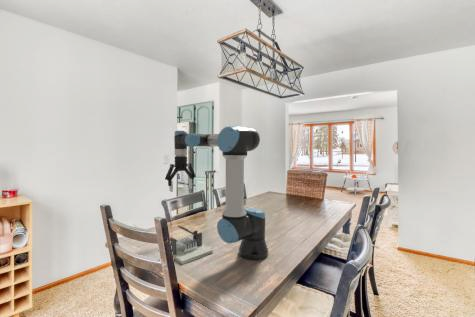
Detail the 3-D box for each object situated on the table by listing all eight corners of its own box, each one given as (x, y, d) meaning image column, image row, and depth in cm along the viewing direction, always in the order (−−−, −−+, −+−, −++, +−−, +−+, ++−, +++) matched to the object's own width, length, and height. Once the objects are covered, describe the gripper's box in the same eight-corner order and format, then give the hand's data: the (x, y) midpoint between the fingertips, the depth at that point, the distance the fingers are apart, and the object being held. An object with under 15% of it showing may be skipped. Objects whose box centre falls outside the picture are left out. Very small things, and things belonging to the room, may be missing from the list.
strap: (199, 238, 130) (201, 235, 130) (180, 229, 121) (181, 225, 122) (196, 237, 132) (197, 234, 132) (177, 227, 123) (178, 224, 124)
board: (212, 252, 124) (212, 249, 124) (182, 264, 112) (182, 261, 112) (189, 240, 140) (189, 237, 140) (160, 249, 128) (160, 246, 128)
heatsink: (197, 248, 125) (197, 241, 125) (184, 253, 120) (184, 245, 120) (188, 243, 132) (188, 236, 132) (175, 247, 126) (175, 240, 126)
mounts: (202, 245, 130) (202, 232, 129) (174, 254, 118) (174, 240, 118) (196, 242, 133) (196, 230, 133) (169, 251, 122) (169, 237, 122)
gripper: (194, 155, 159) (194, 186, 160) (159, 156, 141) (159, 191, 143) (201, 155, 153) (201, 188, 154) (164, 156, 136) (165, 193, 137)
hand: (181, 189), depth 149 cm, fingers open, 13 cm apart
